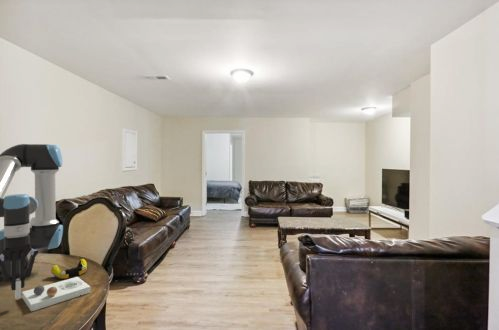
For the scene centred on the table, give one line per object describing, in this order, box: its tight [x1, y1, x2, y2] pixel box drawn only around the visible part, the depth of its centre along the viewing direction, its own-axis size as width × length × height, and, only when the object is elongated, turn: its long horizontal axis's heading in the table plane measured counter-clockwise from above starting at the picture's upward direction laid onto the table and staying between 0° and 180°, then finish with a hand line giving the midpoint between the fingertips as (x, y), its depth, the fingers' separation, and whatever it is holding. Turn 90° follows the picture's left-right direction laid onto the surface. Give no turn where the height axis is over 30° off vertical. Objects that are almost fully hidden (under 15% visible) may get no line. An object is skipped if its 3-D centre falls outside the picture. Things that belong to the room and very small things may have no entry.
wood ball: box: [47, 287, 57, 296], centre depth 109 cm, size 3×3×3 cm
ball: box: [33, 285, 44, 295], centre depth 110 cm, size 3×3×3 cm
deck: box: [21, 276, 92, 312], centre depth 115 cm, size 16×20×2 cm
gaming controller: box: [50, 258, 88, 280], centre depth 137 cm, size 15×6×10 cm
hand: (17, 297), depth 106 cm, fingers closed
